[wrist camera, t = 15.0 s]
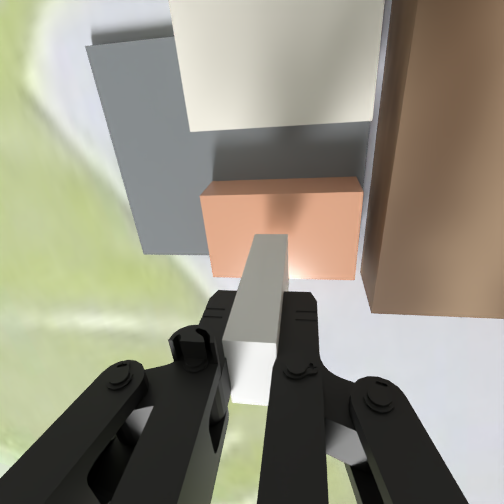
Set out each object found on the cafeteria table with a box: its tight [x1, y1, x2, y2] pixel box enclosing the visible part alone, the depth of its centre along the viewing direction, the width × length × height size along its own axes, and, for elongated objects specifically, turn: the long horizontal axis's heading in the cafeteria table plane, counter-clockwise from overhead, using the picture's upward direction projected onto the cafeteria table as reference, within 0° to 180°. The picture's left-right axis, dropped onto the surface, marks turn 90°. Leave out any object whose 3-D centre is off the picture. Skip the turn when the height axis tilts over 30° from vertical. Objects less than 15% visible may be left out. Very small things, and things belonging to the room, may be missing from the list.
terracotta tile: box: [200, 176, 363, 280], centre depth 17 cm, size 8×5×2 cm, turn 95°
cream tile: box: [168, 0, 385, 132], centre depth 14 cm, size 8×5×2 cm, turn 95°
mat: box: [85, 36, 370, 255], centre depth 18 cm, size 14×12×1 cm
